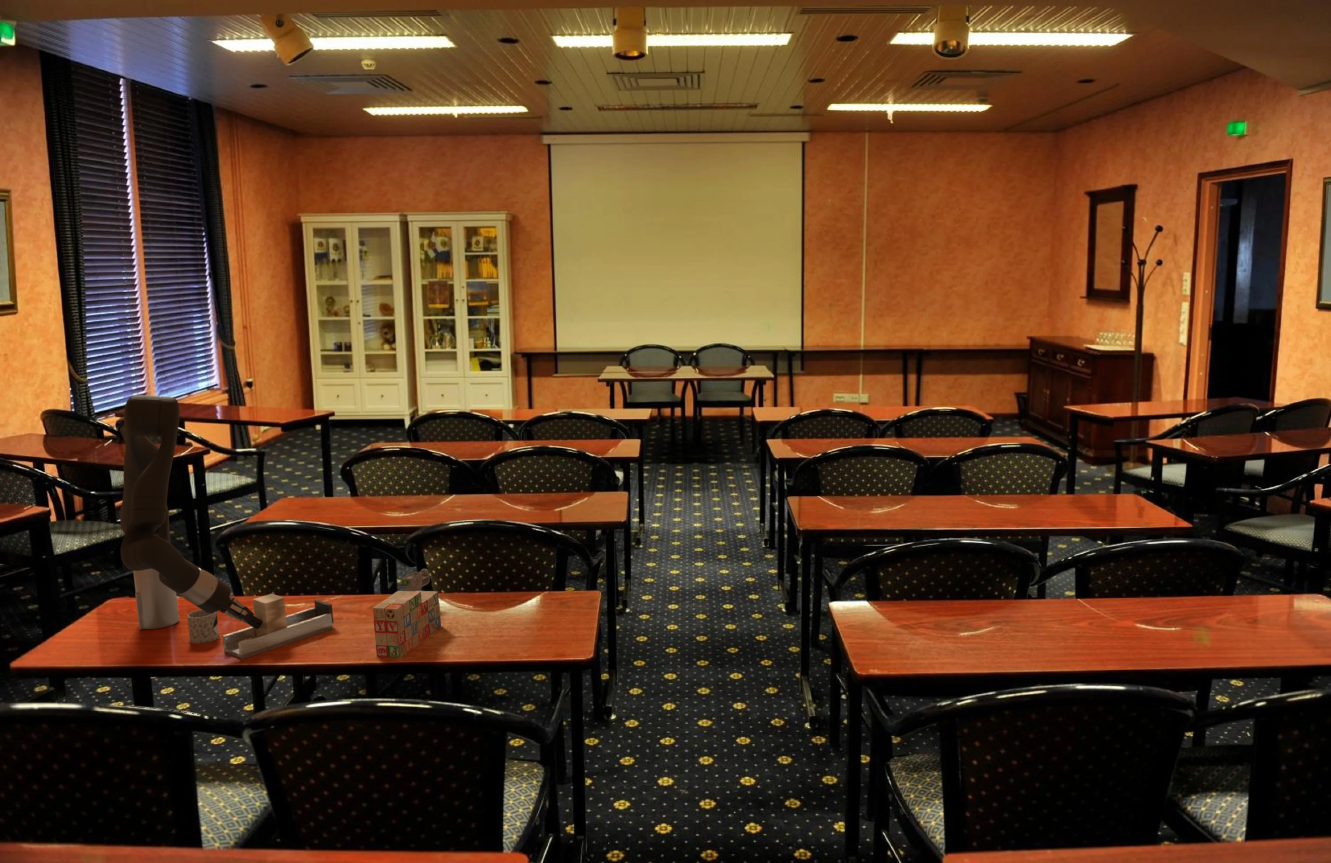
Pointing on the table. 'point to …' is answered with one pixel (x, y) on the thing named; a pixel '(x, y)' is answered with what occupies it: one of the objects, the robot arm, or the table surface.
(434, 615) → the stack of blocks
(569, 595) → the table surface
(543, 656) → the table surface
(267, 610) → the birch block
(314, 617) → the chute
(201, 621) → the mug
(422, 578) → the mechanical component
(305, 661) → the table surface
